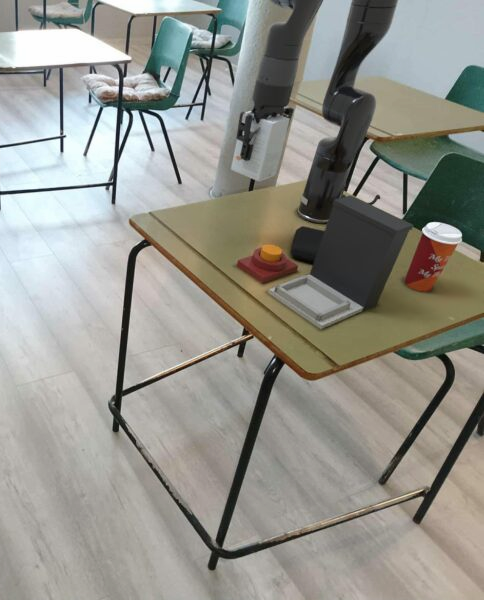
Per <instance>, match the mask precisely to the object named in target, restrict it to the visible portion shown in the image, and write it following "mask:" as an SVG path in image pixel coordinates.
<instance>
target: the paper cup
mask: <svg viewBox="0 0 484 600" xmlns="http://www.w3.org/2000/svg"><path fill="white" fill-rule="evenodd" d="M421 232H422V233H421V236H420V237H419V241H418V244H417V245H416V249H415V251H414V253H413V256H412V259H411V262H410V264H409V267H408V270H407V272H406V275H405V278H404V283H405V285H406V286H407V287H408V288H410V289H412V290H414V291H417V292H423V293H425V292H430V291H431V290H432V288H433V287H434V285H435V284H436V282H437V281H438V279H439V277H440V275H441V274H442V272H443V270H444V269H445V267H446V265H447V264H448V262H449V260H450V259H451V257H452V255H453V254H454V252H455V250H456V249H457V247H458V245H460V244H461V243H462V242H463V238H462V237H463V234H462V232H461V230H460V229H458V228H456V227H455V226H453V225H451V224H447V223H444V222H440V221H439V222H438V221H433V222H432V221H431V222H428V223H427V224H426V225H425V226H424V227H423V228H422V230H421Z"/></svg>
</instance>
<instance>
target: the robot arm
mask: <svg viewBox="0 0 484 600" xmlns="http://www.w3.org/2000/svg"><path fill="white" fill-rule="evenodd" d="M269 1H270V2H271V3H272V5H274V6H276V7H279V8H282V9H287V10H292V11H291V14H290V15H289V17H288V19H287V21H278V22H274V23H273V24H271V25H270V26H269V29H268V32H267V36H266V40H265V43H264V49H263V54H262V57H261V60H260V63H259V66H258V70H257V75H256V79H255V84H254V89H253V93H252V95H251V96H252V98H251V99H252V101H253V107H252V109H251V110H250V111H251V112H249V113H245V112H246V111H241V112H240V114H239V119H238V125H237V130H236V131H237V132H236V140H237V139H238V140H240V141H242V142H243V144H242V149H241V153H240V156H241V159H243V160H245V161H248V160H250V157H251V153H252V149H253V143H254V141H255V140H256V137H257V135H259V134H260V130H261V127H259V128H258V129H256V130H255V129H253V128H251V123H253V121H254V117H255V120H256V123H257V124H258V123H259V122H260V119H263V118H264V119H266V120H267V119H271V118H272V117H275V118H278V117H280V116H283V117H286V118H289V119H290V121H289V125H288V129H287V131H289V127H290V123H291V122H292V121H291V120H292V118H293V115H294V110H295V109H294V108H292V107H291V106H288V105H289V104H290V99H291V96H292V91H293V90H294V89H293V88H294V84H295V80H296V77H297V73H298V68H299V67H298V66H299V61H300V56H301V52H302V48H303V44H304V40H305V38H306V35H307V33H308V31H309V29H310V27H311V25H312V23H313V21H314V19H315V17H316V15H317V14H318V12H319V10H320V8H321V7H322V5H323V2H324V0H269ZM398 3H399V0H351V2H350V6H349V9H348V14H347V19H346V22H345V23H346V24H345V28H344V32H343V37H342V41H341V44H340V48H339V52H338V55H337V59H336V62H335V65H334V67H333V71H332V75H331V77H330V80H329V83H328V86H327V89H326V91H325V94H324V97H323V102H322V106H321V114H322V117H323V119H324V120H325V122H328V123H330V124H332V125H334V126H336V127H339V128H340V129H339V131H338V134H337V135H336V137H335V136H334V137H333V136H331V137H324V138H322V139H320V140H318V141H319V142H318V143H317V146H316V150H315V153H314V156H313V160H312V162H311V167H310V170H309V173H308V176H307V178H306V182H305V186H304V189H303V192H302V195H301V197H300V200H299V201H300V202H299V205H298V207H297V211H296V213H297V215H298V216H299V218H302V219H303V220H305V221H308V222H311V223H317V224H327V223H328V220H329V217H330V214H331V212H332V209H333V206H334V205H333V201H334V200H335V199H339V198H343V197H346V196H347V195H346V194H344V193H345V190H346V186H347V184H346V183H347V180H348V177H349V174H350V170H351V168H352V165H353V163H354V160H355V157H356V154H357V153H358V151H359V149H360V148H361V147H362V145H363V142H364V140H365V138H366V136H367V132H368V130H369V128H370V127H371V123H372V121H373V118H374V115H375V112H376V108H377V98H376V96H375V95H374V94H372V93H371V92H369V91H365V90H363V89H361V88H360V89H359V88H358V87H355V83H356V80H357V76H358V73H359V70H360V68H361V66H362V64H363V63H364V61H365V59H366V58H367V57H368V56H369V55H370V54H371V52H372V51H373V50H374V49H375V48H376V47H377V46H378V45H379V44H380V43H381V42H382V40H384V38H385V37H386V35H387V34H388V32H389V31H390V29H391V26H392V23H393V20H394V17H395V13H396V11H397V6H398ZM243 131H244V135H242V134H243ZM250 132H252V133H253V135H252V136H251V138H249V135H250ZM380 199H381V195H380V194H376V195H375V196H374V198H373V200H372V201H370V202H367V203H368V204H370V205H372V206H374V205H375V203H376V202H377V201H378V200H380Z"/></svg>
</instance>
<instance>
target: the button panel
mask: <svg viewBox="0 0 484 600" xmlns="http://www.w3.org/2000/svg"><path fill="white" fill-rule="evenodd" d="M261 249H262V247H259V248H256V249H254V251H253V253H252V254H251V255H249V256H247V257H244V258H240V259H238V260H237V262H236V267H237V268H238V269H240V270H241V271H243V272H244V273H245V274H247V275H248V276H250V277H251V278H253V279H254V280H256V281H257V282H259V283H260V284H262V285H263V284H266V283H270V282H271V281H274V280H277V279H280V278H283V277H286V276H287V275H288V276H289V275H291V274H294V273H296V272H297V271H298V268H299V265H298V264H296V263H295V262H294V261H292V260H290V259H288V258H287V256H286V254H285V253H283V252H282V254H281V258H280V260H279V261H278V262H270V261H266V260H264V259H262V258H261V257H260V253H261Z"/></svg>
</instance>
